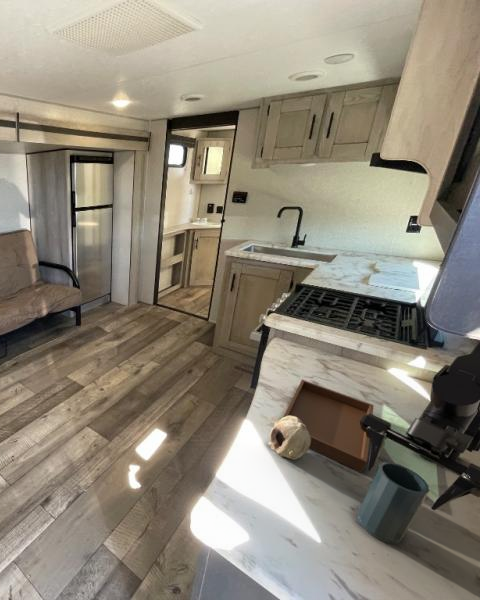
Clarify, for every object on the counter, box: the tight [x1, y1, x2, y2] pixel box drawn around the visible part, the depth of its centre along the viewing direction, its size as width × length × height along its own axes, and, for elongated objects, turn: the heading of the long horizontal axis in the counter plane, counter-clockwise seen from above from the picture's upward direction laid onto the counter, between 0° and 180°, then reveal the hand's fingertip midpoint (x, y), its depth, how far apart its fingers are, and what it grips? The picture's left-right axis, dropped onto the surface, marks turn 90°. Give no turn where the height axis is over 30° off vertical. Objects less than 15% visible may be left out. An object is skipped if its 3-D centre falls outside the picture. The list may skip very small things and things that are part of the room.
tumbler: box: [356, 461, 430, 545], centre depth 60 cm, size 7×7×13 cm
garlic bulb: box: [268, 416, 311, 460], centre depth 78 cm, size 9×8×10 cm
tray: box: [283, 379, 375, 473], centre depth 89 cm, size 28×18×3 cm, turn 137°
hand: (398, 488), depth 60 cm, fingers open, 9 cm apart
